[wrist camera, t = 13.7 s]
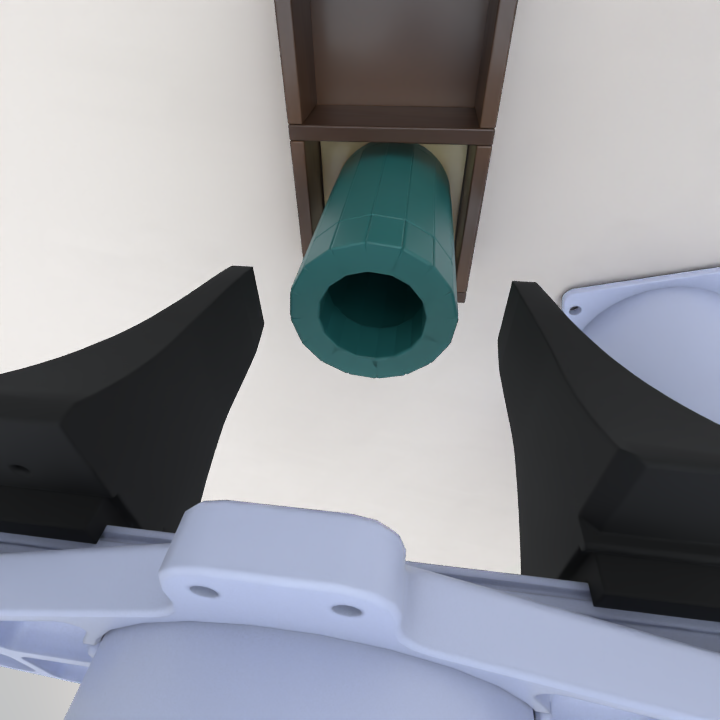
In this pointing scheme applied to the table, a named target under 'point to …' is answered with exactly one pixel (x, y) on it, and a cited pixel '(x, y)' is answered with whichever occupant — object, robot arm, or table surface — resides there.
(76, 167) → the table surface
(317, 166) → the rack
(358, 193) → the jar
